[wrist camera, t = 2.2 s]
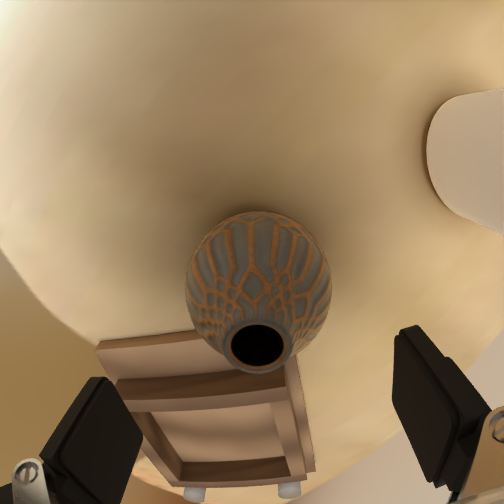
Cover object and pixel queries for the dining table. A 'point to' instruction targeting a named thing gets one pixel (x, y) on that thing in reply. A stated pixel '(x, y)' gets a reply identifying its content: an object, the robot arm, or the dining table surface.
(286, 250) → the vase
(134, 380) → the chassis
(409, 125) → the dining table surface
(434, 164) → the beverage can
